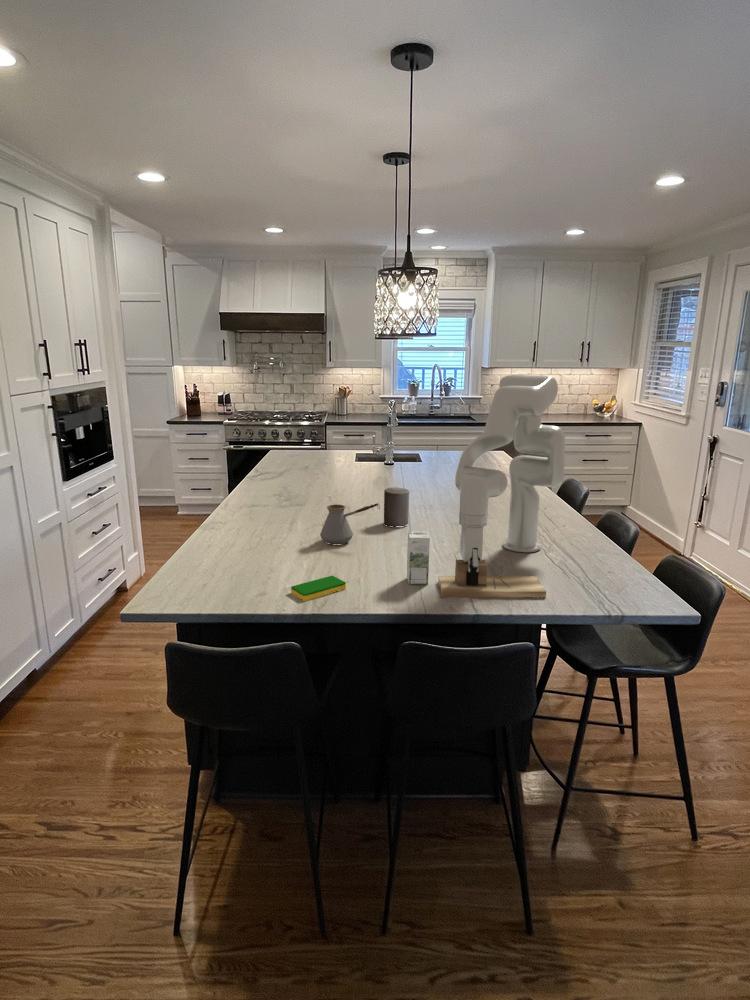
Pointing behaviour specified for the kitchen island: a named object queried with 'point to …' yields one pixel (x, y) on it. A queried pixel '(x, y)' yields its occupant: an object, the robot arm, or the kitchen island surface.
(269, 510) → the kitchen island surface
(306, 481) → the kitchen island surface
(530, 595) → the board
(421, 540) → the syrup box
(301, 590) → the dish sponge
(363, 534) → the kitchen island surface
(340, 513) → the coffee pot
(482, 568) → the block
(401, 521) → the pillar candle
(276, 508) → the kitchen island surface
